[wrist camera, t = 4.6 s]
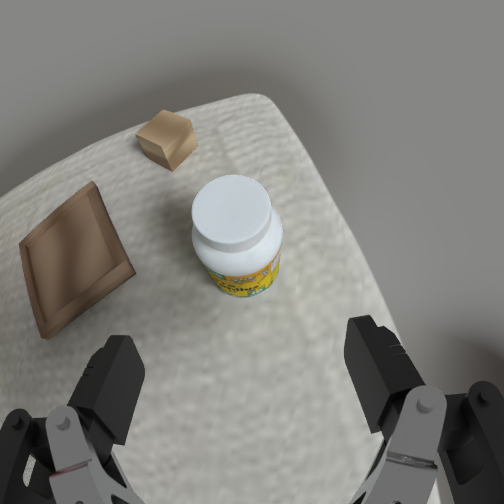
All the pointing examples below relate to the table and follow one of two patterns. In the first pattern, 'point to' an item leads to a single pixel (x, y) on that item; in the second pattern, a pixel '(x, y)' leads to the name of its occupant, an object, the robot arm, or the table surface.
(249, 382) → the table surface
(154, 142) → the oak block
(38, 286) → the tray
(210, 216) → the supplement bottle
